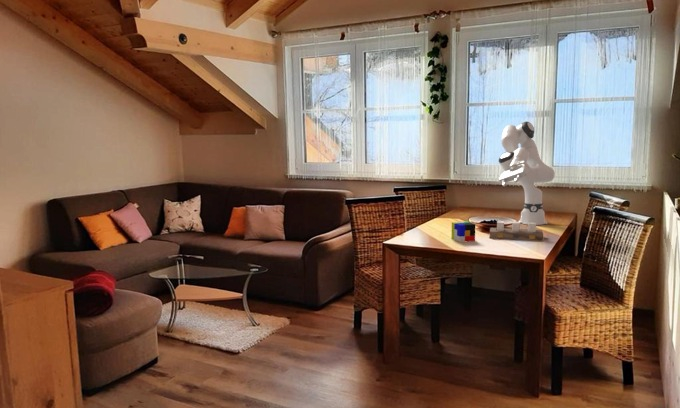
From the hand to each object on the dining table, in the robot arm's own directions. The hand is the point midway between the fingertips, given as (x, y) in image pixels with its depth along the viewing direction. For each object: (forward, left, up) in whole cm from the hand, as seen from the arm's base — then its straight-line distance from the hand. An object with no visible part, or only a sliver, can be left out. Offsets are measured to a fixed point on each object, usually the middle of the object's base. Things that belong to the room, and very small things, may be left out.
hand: (509, 183), depth 315 cm
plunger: (+9, +13, -29) cm, 33 cm away
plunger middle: (+9, +4, -28) cm, 30 cm away
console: (+9, +4, -31) cm, 33 cm away
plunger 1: (+9, -5, -28) cm, 30 cm away
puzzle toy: (+23, -26, -32) cm, 47 cm away
